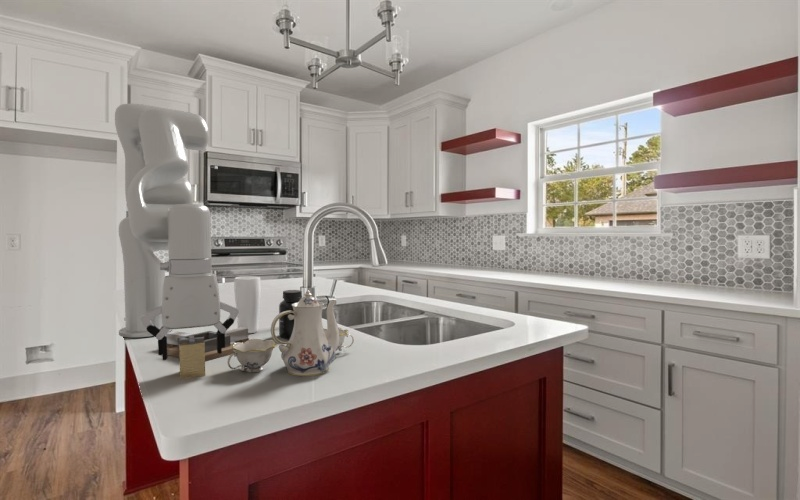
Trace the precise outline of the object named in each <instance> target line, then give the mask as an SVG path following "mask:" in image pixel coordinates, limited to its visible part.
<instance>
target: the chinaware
mask: <svg viewBox="0 0 800 500" xmlns="http://www.w3.org/2000/svg"><path fill="white" fill-rule="evenodd" d="M336 303H337V300H336V299H331V300H330V301H329V302H328V304H327V307H326V325H327V328H324V326H323V320H322V319H323V317H322V316H323V308H324V305H325V303H324V302H322V301H321V302H320V301H318V300H317V299H316V297H314V296H313V294H312V293H311V291H310V290H306V292H305V293H304V294H303V296H302V298H301V299H300V300H299V302H298V303H294V304H292V306H293V310H294V311H291V310H289V311H284V312H281V313H280V314H279V313H278V314H277V315H276V316H275V317H274V319H273V320H272V322H271V325H270V334H271V335H270V336H271V338H272V339H267V340H261V339H259V338H252V339H249V340H248V341H246V342H244V343H240V342H237V343H235V342H234V343H232V344H233V348H232V349H233V351H234V352H235V353H233V354H230V355H228V358H227V367H228V368H229V369H231V370H237V369H238V368H239V369H240V371H241V372H244V371H246V372H248V373H255V372H256V373H257V372H261V371H262V370H265V368H263V366H265V365H266V364H268V363H269V361H270V360H271V357H272V355H273V350H274V349H275V347H276V345H277V344H276V343H278V344H279V345H278V349H279V351H280V352H281V355H280V357H281V360H282V362H283V364H284V365H285V367H286V368H287V369H286V371H287V373H288V374H289V375H293V376H299V377H309V376H310V377H311V376H316V375H317V376H318V375H321V374H324V373H326V372H328V371H329V370H330V365H331V364H332V363H333V361H334V360H335V359H336V355H337V353H336V352H337V351H339V352H342V351H343V349H342V348H350V347H352V345H353V344H354V337H353V335H352V334H351V333H349V329H342V328H341V327H339V326H338V323H337V320H336V316H335V312H334V308H335V304H336ZM288 313H293V314H294V315H291V314H289V315H288V318H289V320H292V319H294V328H293V332H292V335H291V338H290V339H288V341H282V340H281V339H279V338H278V337H277V336H276V332H275V330H276V329H275V328H276V325H277V322H279V318H280V317H281V316H283V315H285V314H288ZM349 336H350V337H351V339H352V340H351V343H350V344H349V345H343V344H344V342H345V338H346V337H347V338H348V337H349ZM233 356H234V358H235V357H236V360H237V361H238V363H239V364H240V365H237V366H235V367H233V366H231V364H230V361H231V358H232V357H233Z"/></svg>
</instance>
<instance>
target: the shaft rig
mask: <svg viewBox="0 0 800 500" xmlns="http://www.w3.org/2000/svg"><path fill="white" fill-rule="evenodd" d="M216 332H217V331H216ZM216 332H215V331H213V330H208V331H203V332H199V333H198V332H197V333H190V332H184V331H176V330H173V331H170V332H168V333H167V334H166V335H165V336H166V337H167V356H168V355H169V356H172V357H175V358H179V359H180V355H179V339H188V338H189V336H194V338H198V337H204V342H205V362H207V361H212V360H215V359H219V358H222V357H226V356H230V355H231V354H233V353H235V352H234V351H233V349H232V348H233V344H234V343H237V342H240V343H244V342H246V341H248V340H250V338H249V334H248V328H243V327H241V328H238V327H237V328H232V329H227V330H226V332H225V348H222V353H221V354H219V353H218V352H217V336H216ZM233 342H234V343H233Z"/></svg>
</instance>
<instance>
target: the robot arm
mask: <svg viewBox="0 0 800 500" xmlns="http://www.w3.org/2000/svg"><path fill="white" fill-rule="evenodd" d="M114 127H115V131H116V135H117V136H118V140H119V142H120V145H121V147H122V150H123V154H124V182H125V183H124V187H125V188H124V191H125V192H124V193H125V201H126V208H127V215H128V216H126V217H124V218H123V219H122V220H121V221H120V222H119V224H118V237H119V243H120V246H121V253H122V259H123V260H122V261H123V282H124V283H123V285H124V314H125V315H124V316H125V317H124V318H123V320H124V323H125V327H122V328H121V329H119V330H118V335H119V336H120V337H123V338H130V339H131V338H132V339H134V338H148V337H154V338H155V339H157V344H158V345H157V346H158V347H157V351H158V356H162V361H166V360H167V359H168V354H167V349H168V348H167V337H166V334H167V333H169V332H173V331H172V330H181V329H182V330H183V329H194V328H202V327H203V328H204V327H211V326H212V327H215V329H216V330H217V331H216V336H217V352H218V353H219V354H221V353H222V348H225V332H226V331H227V330H229V329H230V327H231V326H232V325H233V324H234V323H235V320H236V319H237V315H238V313H239V310H238V309H237V308H236V306H232V305H229V304H227V303H226V302H222V301H221V299H220V290H219V289H220V288H219V282H218V277H217V275H216V273H212V272H213V271H212V270H213V269H212V265H213V264H212V237H211V236H212V235H211V234H212V233H211V232H212V229H211V211H210V209H209V207H207V206H206V205H204V204H198V203H197V204H196V203H194V192H193V191H194V190H193V187H192V184H191V182H190V181H189V180H188V179H186V178H185V176H187V174H188V172H189V170H190V162H189V159H188V155H187V151H186V150H190V151H191V150H192V151H203V150H205V149H206V148H207V146H208V145H209V141H210V131H209V130H210V129H209V126H208V124H207V121H206V120H205V119H204V118H203V117H202V116H201V115H200V114H199V113H198V114H197V113H193V112H188V111H184V110H177V109H173V108H172V109H171V108H165V107H160V106H156V105H155V106H154V105H149V104H140V103H124V104H120V105H118V106H117V108H115V111H114ZM157 251H158V252H159V251H168V253H167V254H168V256H167V257H168V260H167V261H166V262H163V261H162V260H161V259H160V258H159V257H158V256H157V255H155V253H154V252H157ZM166 272H168V275H166ZM221 310H222V311H224V312H228V313H229V315H228V317H227V318H226V320H224V322H223V323H222V322H221Z"/></svg>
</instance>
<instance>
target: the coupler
mask: <svg viewBox="0 0 800 500" xmlns="http://www.w3.org/2000/svg"><path fill="white" fill-rule="evenodd" d="M179 355H180V358H179V379H181V380H182V379H188V378H196V377H203V376H206V361H205V342H204V337H198V338H194V336H189V338H188V339H179Z"/></svg>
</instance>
